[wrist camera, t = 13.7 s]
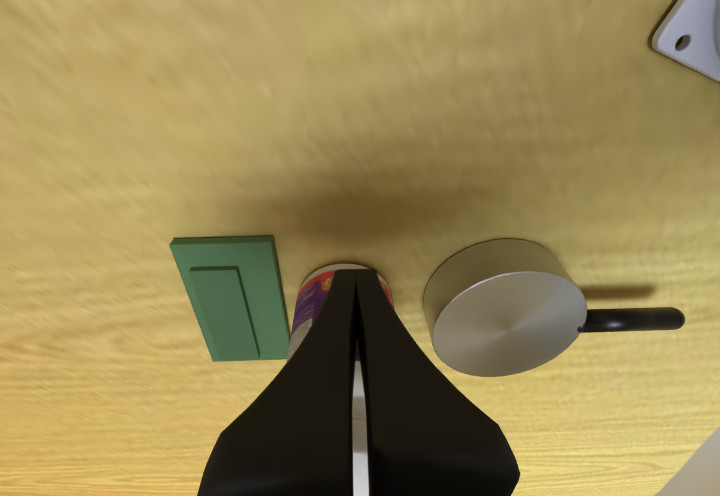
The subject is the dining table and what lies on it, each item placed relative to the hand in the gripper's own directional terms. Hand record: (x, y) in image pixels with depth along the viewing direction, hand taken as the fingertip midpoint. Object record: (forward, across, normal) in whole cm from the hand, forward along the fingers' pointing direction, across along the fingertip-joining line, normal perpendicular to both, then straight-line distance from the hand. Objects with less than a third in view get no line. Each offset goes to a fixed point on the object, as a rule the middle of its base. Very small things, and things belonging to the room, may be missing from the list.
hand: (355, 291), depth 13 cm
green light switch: (+6, +7, +6) cm, 11 cm away
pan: (+6, -11, +6) cm, 14 cm away
